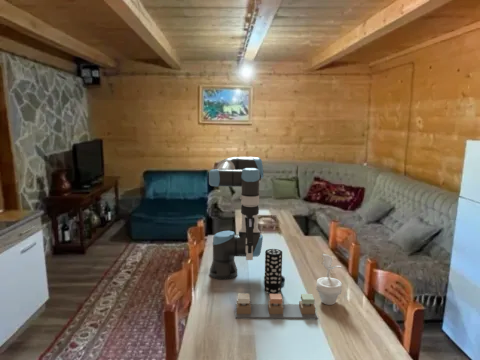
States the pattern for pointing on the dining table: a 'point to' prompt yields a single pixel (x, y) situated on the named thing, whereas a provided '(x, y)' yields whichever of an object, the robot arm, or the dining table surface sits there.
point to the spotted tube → (273, 271)
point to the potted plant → (328, 283)
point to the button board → (275, 311)
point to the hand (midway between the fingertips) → (249, 255)
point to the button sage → (307, 299)
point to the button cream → (243, 299)
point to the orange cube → (275, 299)
